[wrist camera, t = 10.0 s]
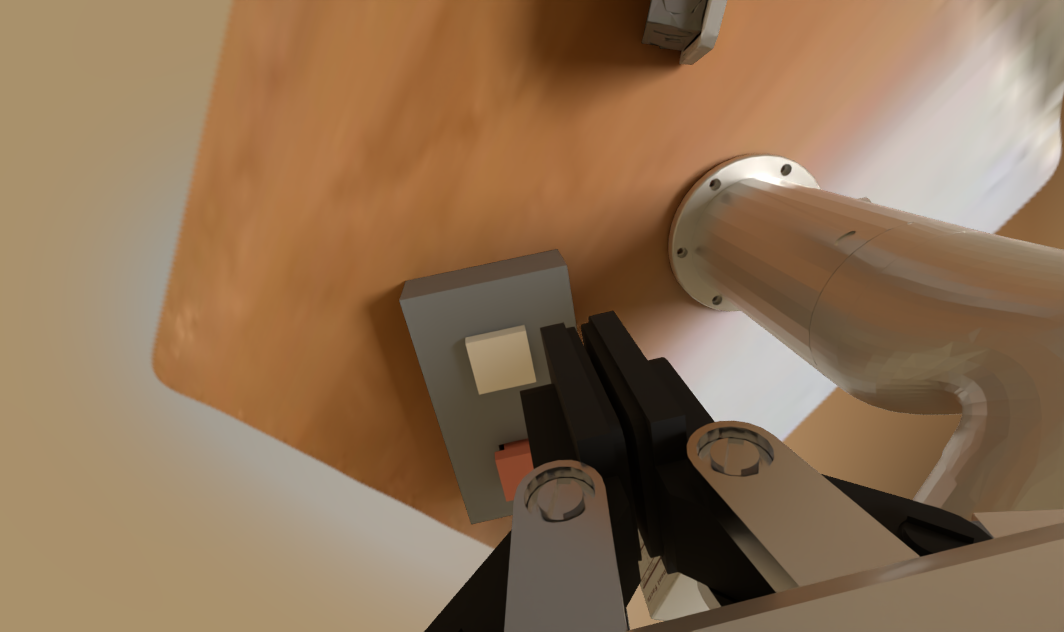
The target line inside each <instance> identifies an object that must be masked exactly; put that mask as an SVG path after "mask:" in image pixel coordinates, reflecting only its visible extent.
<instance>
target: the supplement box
mask: <svg viewBox="0 0 1064 632" xmlns="http://www.w3.org/2000/svg"><path fill="white" fill-rule="evenodd" d="M638 533H639V540H640V547H641V554H642V561H638V563H639V570H640V577H641V582H640V586H641V589H642V592H643V595H644V598H645V601H646V604H647V607H648V610H649V613H650V617H651V618H652V619H655V620H663V621H668V620H672V619H676V618H680V617H684V616H687V615H691V614H695V613H699V612H703V611H707V610H710V609H709V608H708V606H707V605H706V603H705V602H704V600H703V598H702V596H701V594H700V592H699V590H698V587H697V581H696V580H694V579H692V578H689V577H687V576H685V575H683V574H681V573H679V572H677V573H673V574H669V575H668V574H667V572H666V569H665V567H664V565H663V562H662V560H661V558H660V556H658V557H654V558H650V556H649V555H648V552H647V550H646V547H645V545H644V542H643V540H642V537H641V535H640V532H639V530H638Z"/></svg>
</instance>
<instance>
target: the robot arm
mask: <svg viewBox="0 0 1064 632" xmlns="http://www.w3.org/2000/svg"><path fill="white" fill-rule="evenodd" d="M781 168H782V169H781ZM711 181H713V182H712V185H711V186H709V185H710V182H711ZM680 248H681V250H680V251H679V252H677V251H678V250H679V249H680ZM668 254H669V260H670V264H671V269H672V271H673V273H674V275H675V277H676V280H677V281H678V283H679V284H680V285H681V287H682V288H683V289H684V290H685V291H686V292H687V293H688V294H689V295H690V296H691V297H692V298H694V299H695V300H697V301H698V302H700V303H701V304H703V305H705V306H707V307H710V308H712V309H716V310H722V311H742V312H743V313H745V314H746V315H747V316H749V317H750V318H751V319H752V320H754V321H755V322H756V323H758V324H759V325H760V326H761V327H763V328H764V329H765V330H767V331H768V332H769V333H770V334H772V335H773V336H774V337H776V338H777V339H778V340H779V341H781V342H782V343H783V344H785V345H786V346H787V347H788V348H790V349H791V350H792V351H794V352H795V353H796V354H797V355H799V356H800V357H801V358H803V359H804V360H805V361H806V362H808V363H809V364H810V365H812V366H813V367H814V368H815V369H817V370H818V371H819V372H821V373H822V374H823V375H824V376H826V377H827V378H828V379H830V380H831V381H832V382H833V383H835V384H836V385H837V386H839V387H840V388H841V389H843V390H844V391H845V392H847V393H849V394H850V395H852V396H853V397H855V398H857V399H859V400H861V401H863V402H865V403H867V404H869V405H872V406H875V407H878V408H882V409H885V410H889V411H893V412H898V413H909V414H920V415H949V414H962V417H961V420H960V423H959V426H958V427H957V429H956V431H955V432H954V434H953V436H952V437H951V439H950V441H949V442H948V444H947V445H946V447H945V448H944V450H943V454H942V457H941V459H940V460H939V462H938V463H937V465H936V466H935V468H934V469H933V471H932V472H931V473H930V475H929V476H928V478H927V480H926V481H925V482H924V484H923V485H922V487H921V488H920V490H919V491H918V493H917V494H916V496H915V497H914V499H913V500H910V499H906V498H903V497H899V496H896V495H892V494H889V493H885V492H882V491H878V490H875V489H871V488H868V487H864V486H861V485H858V484H854V483H851V482H847V481H844V480H840V479H837V478H833V477H829V476H826V475H823V474H820V473H818V471H816V470H815V469H814V468H813V467H811V466H810V465H809V464H808V463H807V462H805V461H804V460H803V459H802V458H801V457H799V456H798V455H797V454H796V453H795V452H793V451H792V450H791V449H790V448H789V447H787V446H786V445H785V444H784V443H782V442H781V441H780V440H779V439H778V438H776V437H775V436H774V435H773V434H771V433H769V432H768V431H766V430H765V429H763V428H761V427H758V426H755V425H753V424H750V423H745V422H739V421H719V422H714V420H713V419H712V418H711V416H710V415H709V414H708V413H707V411H706V410H705V409H704V407H703V406H702V405H701V403H700V402H699V401H698V399H697V398H696V397H695V396H694V394H693V393H692V392H691V390H690V389H689V388H688V386H687V385H686V384H685V382H684V381H683V380H682V379H681V377H680V376H679V375H678V373H677V372H676V371H675V369H674V368H673V367H672V365H671V364H670V363H669V362H668V360H667V359H666V358H664V357H661V358H657V359H653V360H647V359H646V357H645V356H644V355H643V353H642V352H641V350H640V349H639V347H638V346H637V344H636V343H635V342H634V340H633V339H632V337H631V336H630V334H629V333H628V331H627V330H626V328H625V327H624V326H623V324H622V323H621V321H620V320H619V318H618V317H617V315H616V314H615V312H614V311H610V312H605V313H601V314H597V315H593V316H589V318H588V319H589V323H586V324H582V325H581V331H582V337H583V342H584V346H583V344H582V341H581V339H580V337H579V335H578V333H577V331H576V329H575V327H574V326H573V327H569V328H566V327H565V324H564V322H563V323H558V324H554V325H550V326H545V327H541V328H540V332H541V337H542V342H543V347H544V351H545V356H546V361H547V365H548V370H549V375H550V380H551V384H547V385H543V386H538V387H534V388H530V389H526V390H521V391H520V397H521V402H522V408H523V413H524V419H525V424H526V430H527V435H528V441H529V446H530V452H531V457H532V463H533V468H534V469H533V470H532V471H531V472H530V473H528V474H527V475H526V476H525V477H524V478H523V479H522V481H521V482H520V484H519V485H518V487H517V489H516V493H515V497H514V505H513V519H512V530H511V531H510V532H509V533H508V534H507V535H506V537H505V538H504V539H503V540H502V541H501V542H500V544H499V545H498V546H497V547H496V548H495V549H494V551H493V552H492V553H491V554H490V555H489V557H488V558H487V559H486V560H485V561H484V562H483V564H482V565H481V566H480V567H479V568H478V569H477V571H476V572H475V573H474V574H473V575H472V577H471V578H470V579H469V580H468V581H467V582H466V583H465V585H464V586H463V587H462V588H461V589H460V590H459V592H458V593H457V594H456V595H455V596H454V597H453V599H452V600H451V601H450V602H449V603H448V605H447V606H446V607H445V608H444V609H443V610H442V611H441V613H440V614H439V615H438V616H437V617H436V618H435V620H434V621H433V622H432V623H431V624H430V626H429V627H428V628H427V629H426V630H425V631H424V632H1064V250H1061V249H1057V248H1052V247H1048V246H1043V245H1039V244H1034V243H1030V242H1025V241H1020V240H1016V239H1012V238H1007V237H1003V236H999V235H994V234H990V233H986V232H982V231H978V230H974V229H970V228H966V227H962V226H958V225H954V224H951V223H947V222H943V221H939V220H935V219H931V218H927V217H924V216H920V215H916V214H912V213H908V212H904V211H901V210H897V209H893V208H889V207H885V206H881V205H878V204H874V203H871V201H870V199H868V198H859V199H855V198H851V197H847V196H843V195H839V194H835V193H832V192H828V191H824V190H821V189H820V187H819V185H818V183H817V181H816V180H815V178H814V177H813V176H812V175H811V174H810V173H809V171H808V170H807V169H806V168H804V167H803V166H801V165H800V164H798V163H797V162H795V161H794V160H791V159H788V158H785V157H782V156H778V155H773V154H748V155H743V156H738V157H735V158H733V159H730V160H728V161H725V162H723V163H721V164H719V165H718V166H716V167H715V168H713V169H712V170H710V171H708V172H707V173H706V174H705V175H704V176H703V177H702V178H700V179H699V180H698V181H697V182H696V183H695V184H694V185H693V187H692V188H691V189H690V190H689V191H688V193H687V194H686V195H685V196H684V198H683V200H682V202H681V204H680V205H679V207H678V209H677V211H676V213H675V216H674V219H673V222H672V224H671V228H670V234H669V240H668ZM638 530H639V532H640V535H641V537H642V540H643V542H644V545H645V547H646V550H647V552H648V555H649V556H650V558H654V557H658V556H660V558H661V560H662V562H663V565H664V567H665V569H666V572H667V574H668V575H669V574H673V573H677V572H679V573H681V574H683V575H685V576H687V577H689V578H692V579H694V580H696V581H697V587H698V590H699V592H700V594H701V596H702V598H703V600H704V602H705V603H706V605H707V606H708V608H709V609H710V610H707V611H703V612H699V613H695V614H691V615H687V616H684V617H680V618H676V619H672V620H668V621H664V622H660V623H656V624H653V625H648V626H644V627H641V628H637V629H633V630H630V627H629V620H628V614H627V609H626V607H627V605H628V603H629V602H630V600H631V598H632V596H633V594H634V593H635V591H636V589H637V587H638V586H639V584H640V582H641V577H640V570H639V563H638V561H642V554H641V547H640V540H639V533H638Z"/></svg>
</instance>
